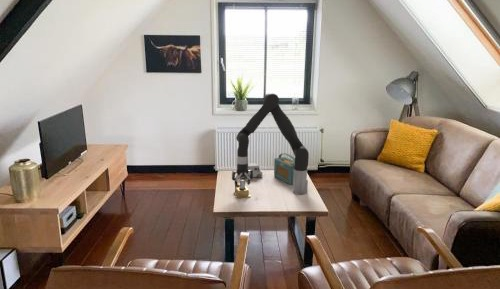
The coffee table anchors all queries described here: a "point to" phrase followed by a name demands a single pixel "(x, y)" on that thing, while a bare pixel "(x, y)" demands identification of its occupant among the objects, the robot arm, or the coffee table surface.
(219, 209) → the coffee table surface
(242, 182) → the silver round-ended rod
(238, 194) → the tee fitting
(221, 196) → the coffee table surface
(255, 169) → the toy vehicle
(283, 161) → the radio
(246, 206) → the coffee table surface
